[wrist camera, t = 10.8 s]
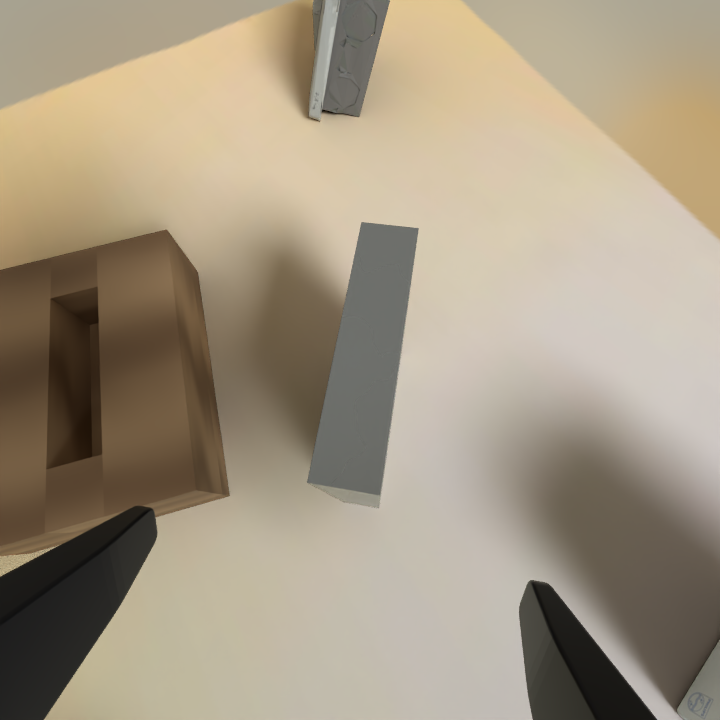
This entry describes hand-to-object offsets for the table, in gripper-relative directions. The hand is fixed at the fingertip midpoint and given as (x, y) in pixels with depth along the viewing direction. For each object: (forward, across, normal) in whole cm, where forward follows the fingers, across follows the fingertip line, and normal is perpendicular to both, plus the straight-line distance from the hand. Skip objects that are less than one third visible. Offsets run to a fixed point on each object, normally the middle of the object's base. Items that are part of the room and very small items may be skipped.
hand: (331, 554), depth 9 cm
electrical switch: (+30, +6, -16) cm, 35 cm away
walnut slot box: (+11, +14, +4) cm, 18 cm away
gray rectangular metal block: (+12, 0, +4) cm, 12 cm away
